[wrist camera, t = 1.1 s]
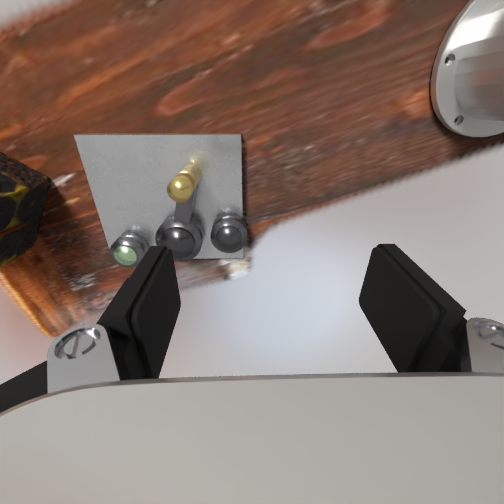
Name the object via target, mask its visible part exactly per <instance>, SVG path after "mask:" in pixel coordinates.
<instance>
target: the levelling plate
mask: <svg viewBox="0 0 504 504" xmlns="http://www.w3.org/2000/svg"><path fill="white" fill-rule="evenodd" d="M74 137H75V140H76V144H77V147H78V150H79V153H80V156H81V160H82V163H83V166H84V169H85V172H86V175H87V179H88V182H89V185H90V188H91V191H92V195H93V198H94V201H95V204H96V207H97V211H98V214H99V217H100V220H101V223H102V226H103V230H104V233H105V236H106V239H107V242H108V246H109V249H110V255H111V257H112V259H113V260H114V261H115V262H116V263H117V264H119V265H121V266H123V267H127V268H133V267H137V266H138V264H139V263H140V261H141V260H142V258H143V257H144V255H145V254H146V252H147V251H148V249H149V248H150V246H157V245H156V241H155V236H156V232H157V230H158V228H159V227H160V226H161V224H162V223H163V221H164V220H165V219H166V218H167V217H169V216H171V215H173V214H175V207H176V202H175V201H173V200H172V199H171V198H170V197H169V195H168V193H167V186H168V184H169V182H170V181H171V180H172V179H173V178H174V177H175V176H176V175H177V174H178V173H179V172H180V171H181V170H182V169H183V168H184V167H185V166H186V165H194V166H196V167H198V168H199V170H200V172H201V179H200V181H199V183H198V187H197V193H196V199H195V205H194V211H193V218H195V219H196V220H197V221H198V222H199V223H200V224H201V226H202V228H203V231H204V240H203V243H202V247H201V250H200V252H199V253H198V255H197V256H196V257H194V258H193V259H206V258H243V247H244V246H245V244H246V242H247V225H246V222H245V221H244V219H243V205H242V148H241V133H82V134H76V135H74Z"/></svg>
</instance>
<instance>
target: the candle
mask: <svg viewBox="0 0 504 504" xmlns="http://www.w3.org/2000/svg"><path fill="white" fill-rule="evenodd" d="M49 185H50V183H49V180H48V177H46V176H44V175H42V174H41V173H39V172H37V171H35V170H33V169H31V168H29V167H26V166H24V165H23V164H22V163H20V162H18V161H16V160H14V159H12V158H10V157H8V156H6V155H4V154H2V153H1V152H0V267H2V266H4V265H5V264H6V263H7V262H8V261H10V260H11V259H13V258H15V257H18V256H20V255H21V254H23V253H24V252H25V251H26V250H28V249H29V248H31V247H32V246H33V245H34V243H35V240H36V235H37V234H38V230H39V228H38V226H39V225H40V221H41V216H42V211H43V210H44V207H43V206H44V201H45V198H46V194H47V188H48V186H49Z"/></svg>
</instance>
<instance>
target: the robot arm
mask: <svg viewBox="0 0 504 504" xmlns="http://www.w3.org/2000/svg"><path fill="white" fill-rule="evenodd" d="M445 59H446V60H445ZM431 99H432V104H433V108H434V111H435V113H436V115H437V117H438V119H439V120H440V121H441V123H442V124H443V125H444V126H445V127H446V128H448V129H449V130H451V131H452V132H454V133H457V134H460V135H463V136H470V137H487V136H493V135H497V134H500V133H503V132H504V0H470V1H469V2H468V3H467V4H466V6H465V7H464V8H463V9H462V10H461V12H460V13H459V14H458V15H457V17H456V18H455V20H454V21H453V23H452V25H451V26H450V28H449V29H448V31H447V33H446V35H445V37H444V39H443V41H442V43H441V45H440V47H439V50H438V53H437V56H436V59H435V62H434V65H433V71H432V76H431ZM359 304H360V307H361V309H362V311H363V312H364V314H365V316H366V318H367V319H368V321H369V323H370V325H371V326H372V328H373V330H374V332H375V333H376V335H377V337H378V338H379V340H380V342H381V344H382V345H383V347H384V349H385V351H386V352H387V354H388V356H389V358H390V359H391V361H392V363H393V365H394V366H395V368H396V370H397V372H398V373H349V374H302V375H301V374H300V375H256V376H222V377H221V376H219V377H183V378H159V374H160V371H161V368H162V365H163V362H164V358H165V355H166V352H167V349H168V346H169V342H170V339H171V336H172V333H173V329H174V327H175V323H176V320H177V317H178V314H179V311H180V306H181V301H180V295H179V289H178V283H177V277H176V271H175V266H174V260H173V254H172V250H171V249H167V247H166V246H150V248H149V249H148V251H147V252H146V254H145V255H144V257H143V258H142V260H141V261H140V263H139V264H138V266H137V267H136V269H135V270H134V272H133V273H132V275H131V276H130V278H127V279H126V280H125V282H124V283H123V285H122V286H121V288H120V289H119V291H118V292H117V294H116V295H115V297H114V298H113V300H112V301H111V303H110V304H109V306H108V307H107V309H106V310H105V312H104V313H103V314H102V316H101V317H100V319H99V321H98V322H97V323H96V324H84V325H80V326H76V327H74V328H72V329H70V330H67V331H66V332H64V333H63V334H61V335H60V336H59V337H58V338H56V339H55V340H54V341H53V342H52V344H51V346H50V347H49V349H48V353H47V361H45V362H43V363H41V364H39V365H37V366H35V367H33V368H32V369H29V370H28V371H26V372H24V373H22V374H20V375H18V376H16V377H14V378H12V379H10V380H8V381H7V382H5V383H3V384H1V385H0V504H504V324H502V323H499V322H496V321H494V320H490V319H485V318H471V319H470V320H468V321H467V320H466V319H465V318H464V317H463V316H464V314H465V312H466V310H465V309H464V308H463V307H462V306H461V305H460V304H459V303H458V302H456V301H455V300H454V299H453V298H452V297H451V296H450V295H449V294H448V293H447V292H446V291H445V290H443V288H441V287H440V286H439V285H438V284H437V283H436V282H435V281H434V280H433V279H432V278H430V276H428V275H427V274H426V273H425V272H424V271H423V270H422V269H421V268H420V267H419V266H418V265H417V264H416V263H415V262H413V261H412V260H411V259H410V258H409V257H408V256H407V255H406V254H405V253H404V252H403V251H402V250H401V249H400V248H398V247H397V246H396V245H395V244H379V245H378V246H377V247H375V248H373V250H372V253H371V256H370V260H369V264H368V267H367V271H366V275H365V278H364V282H363V286H362V289H361V293H360V297H359Z"/></svg>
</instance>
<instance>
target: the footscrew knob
mask: <svg viewBox="0 0 504 504" xmlns="http://www.w3.org/2000/svg"><path fill="white" fill-rule="evenodd" d="M200 179H201V172H200V170H199V168H198V167H196V166H194V165H186V166H185V167H184V168H183V169H182V170H181V171H180V172H179V173H178V174H177V175H176V176H175V177H174V178H173V179H172V180H171V181H170V182H169V184H168V186H167V193H168V195H169V197H170V198H171V199H172V200H173V201H175V202H176V207H175V214H173V215H171V216H169V217H167V218H166V219H165V220H164V221H163V223H162V224H161V226H160V227H159V228H158V230H157V232H156V236H155V241H156V245H157V246H166V247H167V249H171V250H172V254H173V260H175V261H188V260H191V259H193V258H194V257H196V256H197V255H198V253H199V252H200V250H201V247H202V243H203V240H204V231H203V228H202V226H201V224H200V223H199V222H198V221H197V220H196V219H195V218H193V211H194V205H195V199H196V193H197V187H198V183H199V181H200Z"/></svg>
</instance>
